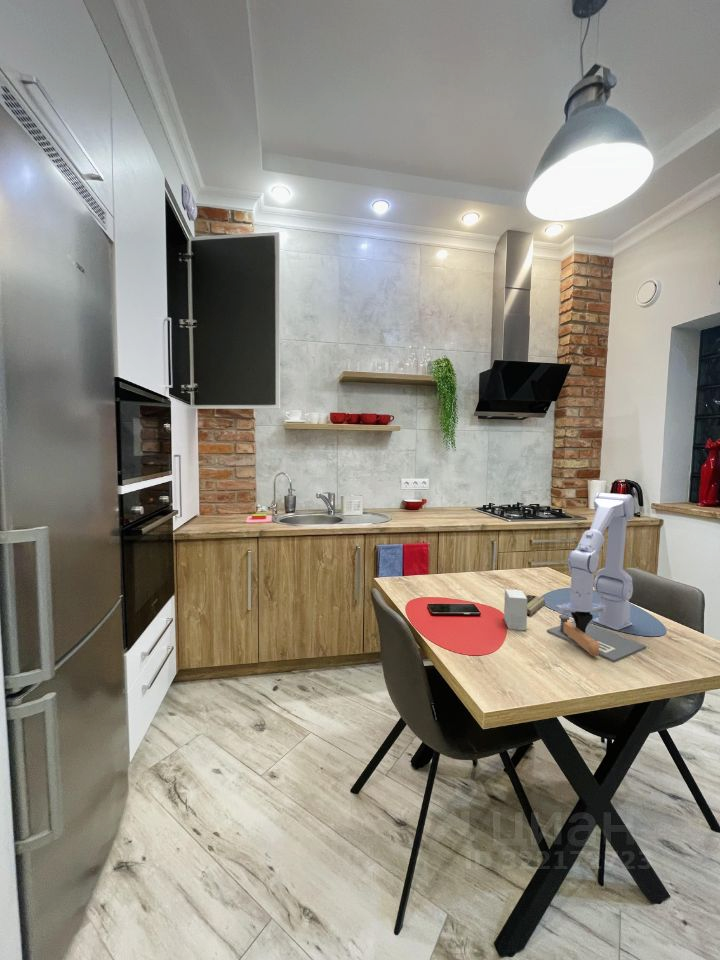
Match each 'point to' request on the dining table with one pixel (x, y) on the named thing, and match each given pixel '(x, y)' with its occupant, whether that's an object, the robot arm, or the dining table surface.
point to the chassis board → (602, 641)
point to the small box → (515, 609)
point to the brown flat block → (534, 604)
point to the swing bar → (581, 638)
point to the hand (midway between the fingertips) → (579, 635)
